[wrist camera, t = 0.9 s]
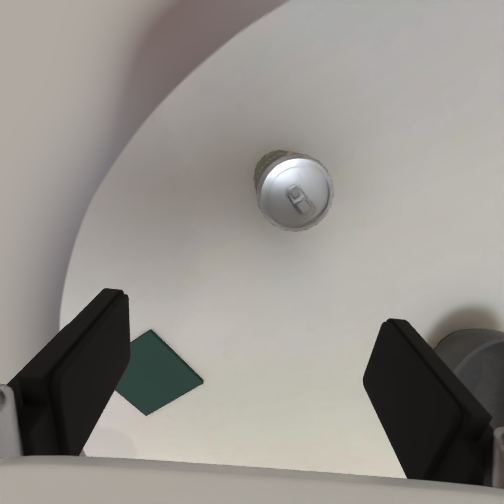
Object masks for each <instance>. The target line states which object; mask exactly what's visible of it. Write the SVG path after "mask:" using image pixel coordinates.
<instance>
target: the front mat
mask: <svg viewBox="0 0 504 504" xmlns="http://www.w3.org/2000/svg"><path fill="white" fill-rule="evenodd" d="M130 353H131V354H130V361H129V364H128V366H127V368H126V370H125V372H124V374H123V375H122V377H121V379H120V381H119V383H118V385H117V386H116V388H115V391H117V392H118V393H119V394H120V395H121V396H123V397H124V398H125V399H126V400H127V401H129V402H130V403H131V404H132V405H133V406H135V407H136V408H137V409H138V410H139V411H141V412H142V413H143V414H144V415H145V416H147V415H149V414H151V413H152V412H154V411H156V410H158V409H159V408H161V407H163V406H164V405H166V404H168V403H170V402H171V401H173V400H175V399H177V398H178V397H180V396H182V395H184V394H185V393H187V392H189V391H190V390H192V389H194V388H196V387H197V386H199V385H201V384H203V380H202V379H201V378H200V377H199V376H198V375H197V374H196V373H195V372H194V371H193V370H192V369H191V368H190V367H189V366H188V365H187V364H186V363H185V362H184V361H183V360H182V359H181V358H180V357H179V356H178V355H177V354H176V353H175V352H174V351H173V350H172V349H171V348H170V347H169V346H168V345H167V344H166V343H165V342H164V341H162V340H161V339H160V338H159V337H158V336H157V335H156V334H155V333H154V332H153V331H152V330H149V331H148V332H146V333H145V334H143V335H142V336H140V337H138V338H137V339H135V340H134V341H132V342H131V343H130Z"/></svg>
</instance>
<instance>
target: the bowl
mask: <svg viewBox="0 0 504 504" xmlns="http://www.w3.org/2000/svg"><path fill="white" fill-rule="evenodd" d="M434 352H435V353H436V354H437V355H438V356H439V357H440V358H441V359H442V361H443V362H444V363H445V364H446V365H447V366H448V367H449V368H450V370H451V371H452V372H453V373H454V374H455V375H456V376H457V378H458V379H459V380H460V381H461V382H462V383H463V384H464V385H465V387H466V388H467V389H468V390H469V391H470V392H471V393H472V394H473V396H474V397H475V398H476V399H477V400H478V401H479V402H480V403H481V405H482V406H483V407H484V408H485V409H486V410H487V411H488V412H489V414H490V415H491V416H492V417H493V418H492V420H491V422H490V423H489V425H490V426H491V427H492V428H493V429H494V430H495V429H497V428H499V427H504V333H503V332H500V331H495V330H488V329H465V330H461V331H457V332H454V333H451V334H450V335H448V336H447V337H445V338H444V339H443V340H442V341H441V342H440V343H439V344H438V345H437V347H436V348H435V350H434Z"/></svg>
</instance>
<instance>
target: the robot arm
mask: <svg viewBox="0 0 504 504" xmlns="http://www.w3.org/2000/svg"><path fill="white" fill-rule="evenodd" d="M130 354H131V353H130V325H129V298H128V295H126V294H124V292H123V291H122V290H118V289H109V288H105V289H103V290H102V291H101V292H100V293H99V294H98V295H97V296H96V297H95V298H94V299H93V300H92V301H91V302H90V303H89V304H88V305H87V306H86V307H85V308H84V309H83V310H82V311H81V312H80V313H79V314H78V315H77V316H76V317H75V318H74V319H73V320H72V321H71V322H70V323H69V324H68V325H66V326H65V327H64V328H63V329H62V330H61V331H60V332H59V333H58V334H57V335H56V336H55V337H54V338H53V339H52V340H51V341H50V342H49V343H48V344H47V345H46V346H45V347H44V348H43V349H42V350H41V351H40V352H39V353H38V354H37V355H36V356H35V357H34V358H33V359H32V360H31V361H30V362H29V363H28V364H27V365H26V366H25V367H24V368H23V369H22V370H21V371H20V372H19V373H18V374H17V375H16V376H15V377H14V378H13V379H12V380H11V381H10V382H9V383H8V384H7V385H5V384H0V504H504V427H499V428H497V429H495V430H494V429H493V428H492V427H491V426H490V425H489V423H490V422H491V420H492V418H493V417H492V416H491V415H490V414H489V412H488V411H487V410H486V409H485V408H484V407H483V406H482V405H481V403H480V402H479V401H478V400H477V399H476V398H475V397H474V396H473V394H472V393H471V392H470V391H469V390H468V389H467V388H466V387H465V385H464V384H463V383H462V382H461V381H460V380H459V379H458V378H457V376H456V375H455V374H454V373H453V372H452V371H451V370H450V368H449V367H448V366H447V365H446V364H445V363H444V362H443V361H442V359H441V358H440V357H439V356H438V355H437V354H436V353H435V352H434V350H433V349H432V348H431V347H430V346H429V345H428V344H427V343H426V341H425V340H424V339H423V338H422V337H421V336H420V335H419V334H418V332H417V331H416V330H415V329H414V328H413V327H412V326H411V325H410V323H409V322H408V321H406V320H401V319H392V318H390V319H388V320H387V321H386V322H383V323H382V325H381V328H380V331H379V334H378V337H377V339H376V342H375V345H374V348H373V351H372V354H371V356H370V359H369V362H368V365H367V368H366V370H365V373H364V376H363V385H364V388H365V390H366V392H367V394H368V396H369V398H370V401H371V403H372V405H373V407H374V409H375V411H376V413H377V415H378V418H379V420H380V422H381V424H382V426H383V428H384V430H385V432H386V435H387V437H388V439H389V441H390V443H391V445H392V447H393V449H394V452H395V454H396V456H397V458H398V460H399V462H400V464H401V466H402V468H403V471H404V473H405V475H406V477H407V479H403V478H391V477H378V476H366V475H353V474H340V473H327V472H314V471H300V470H287V469H273V468H259V467H246V466H232V465H217V464H202V463H188V462H173V461H158V460H143V459H127V458H107V457H86V456H79V454H80V453H81V451H82V449H83V447H84V445H85V443H86V442H87V440H88V438H89V436H90V434H91V432H92V431H93V429H94V427H95V425H96V423H97V421H98V420H99V418H100V416H101V414H102V412H103V410H104V409H105V407H106V405H107V403H108V401H109V399H110V397H111V396H112V394H113V392H114V390H115V388H116V386H117V385H118V383H119V381H120V379H121V377H122V375H123V374H124V372H125V370H126V368H127V366H128V364H129V361H130Z"/></svg>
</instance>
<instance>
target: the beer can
mask: <svg viewBox="0 0 504 504" xmlns="http://www.w3.org/2000/svg"><path fill="white" fill-rule="evenodd" d="M254 182H255V188H256V194H257V200H258V205H259V208H260V210H261V212H262V214H263V216H264V217H265V218H266V219H267V220H268V221H269V222H270V223H271V224H272V225H274V226H277V227H279V228H281V229H283V230H286V231H295V232H297V231H302V230H307V229H309V228H311V227H313V226H315V225H317V224H318V223H319V222H320V221H321V220H322V219H323V218H324V217H325V216H326V215H327V213H328V211H329V209H330V208H331V205H332V200H333V196H334V194H333V184H332V180H331V178H330V176H329V173H328V171H327V169H326V168H325V167H324V166H323V165H322V164H321V163H320V162H319V161H318V160H316V159H314V158H312V157H310V156H308V155H304V154H299V153H294V152H290V151H283V150H277V151H272V152H270V153H268V154H267V155H265V156H264V157H263V158H262V159H261V160H260V161H259V162H258V164H257V166H256V169H255V173H254Z"/></svg>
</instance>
